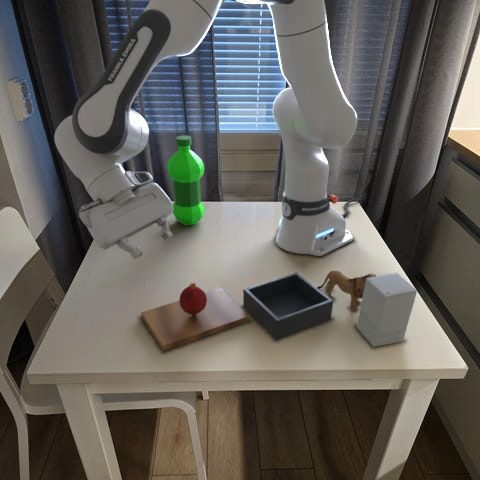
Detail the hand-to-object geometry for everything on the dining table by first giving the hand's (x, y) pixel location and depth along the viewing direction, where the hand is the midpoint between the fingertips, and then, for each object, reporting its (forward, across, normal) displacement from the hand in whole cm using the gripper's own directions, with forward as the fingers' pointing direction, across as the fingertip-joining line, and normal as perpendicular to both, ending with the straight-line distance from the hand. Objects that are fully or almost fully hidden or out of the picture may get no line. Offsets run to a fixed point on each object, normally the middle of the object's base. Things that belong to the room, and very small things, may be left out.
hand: (154, 247), depth 95 cm
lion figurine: (+35, +26, -14) cm, 46 cm away
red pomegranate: (+16, 0, +3) cm, 17 cm away
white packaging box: (+43, +18, -21) cm, 51 cm away
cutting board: (+18, 0, +4) cm, 18 cm away
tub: (+28, +13, -7) cm, 32 cm away
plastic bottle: (-5, +38, +27) cm, 47 cm away
